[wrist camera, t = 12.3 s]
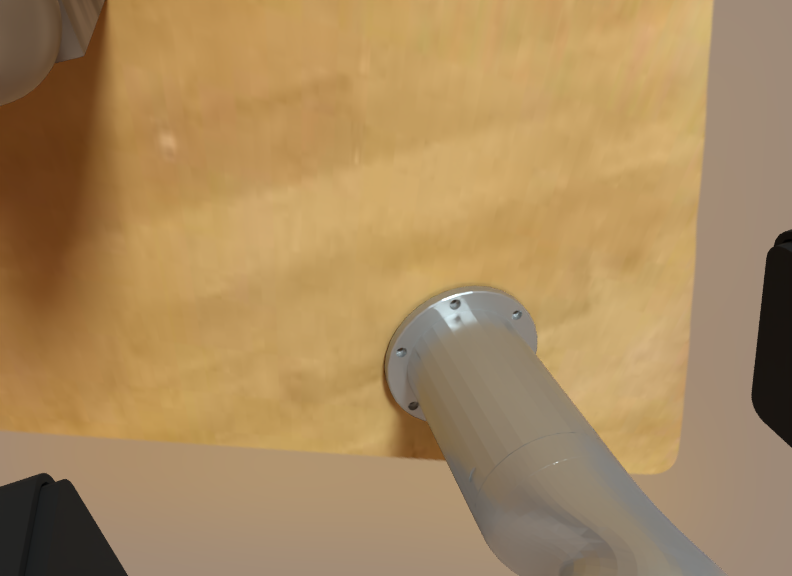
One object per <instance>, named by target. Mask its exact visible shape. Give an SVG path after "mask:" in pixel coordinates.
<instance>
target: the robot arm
mask: <svg viewBox="0 0 792 576" xmlns="http://www.w3.org/2000/svg"><path fill="white" fill-rule="evenodd" d="M536 351H537V332H536V327H535V324H534V322H533V320H532V318H531V316H530V314H529V313H528V311H527V310H526V309H525V308H524V306H523V305H522V304H521V303H520V302H519V301H518V300H516V299H515V298H514V297H513V296H511V295H509V294H508V293H506V292H504V291H502V290H499V289H495V288H492V287H485V286H468V287H460V288H456V289H452V290H449V291H445V292H443V293H441V294H439V295H437V296H434V297H432V298H430V299H429V300H427V301H426V302H424V303H423V304H421V305H420V306H418V307H417V308H416V309H415V310H414V311H413V312H412V313H410V314H409V315H408V316H407V317H406V318H405V320H404V321H403V322H402V323H401V325H400V326H399V327H398V328H397V330H396V332H395V334H394V336H393V337H392V339H391V341H390V344H389V347H388V350H387V353H386V359H385V375H386V381H387V383H388V386H389V388H390V391H391V393H392V395H393V397H394V399H395V401H396V402H397V403H398V404H399V405H400V406H401V407H402V409H403V410H405V411H406V412H408V413H409V414H410V415H412V416H413V417H416V418H418V419H421V420H423V421H427V422H428V424H429V426H430V428H431V431H432V433H433V435H434V437H435V439H436V441H437V443H438V445H439V447H440V449H441V451H442V453H443V455H444V457H445V459H446V461H447V463H448V465H449V467H450V470H451V471H452V474H453V476H454V478H455V480H456V482H457V484H458V486H459V488H460V490H461V492H462V494H463V496H464V498H465V500H466V502H467V504H468V507H469V509H470V511H471V513H472V515H473V517H474V519H475V521H476V523H477V525H478V527H479V529H480V531H481V533H482V535H483V537H484V539H485V541H486V543H487V544H488V546H489V548H490V549H491V550H492V552H493V553H494V554H495V555H496V557H497V558H498V559H499V560H500V561H501V562H502V563H503V564H505V565H506V566H507V567H508V568H509V569H510V570H511V571H513V572H514V573H516V574H518V575H519V576H728V575H727V574H726V573H725V572H724V571H723V570H722V569H721V568H720V567H719V566H718V565H717V564H716V563H714V562H713V561H712V560H711V559H710V558H709V557H708V556H707V555H705V554H704V552H702V551H701V550H700V549H699V548H698V547H697V546H696V545H695V544H694V543H692V542H691V541H690V540H689V539H688V538H687V537H686V536H685V535H684V534H683V533H682V532H681V531H680V530H679V529H678V528H677V527H676V526H675V525H673V523H671V521H670V520H669V519H668V518H667V517H666V516H665V515H664V514H663V513H662V512H661V511H660V510H659V509H658V508H657V507H656V506H655V505H654V504H653V503H652V501H651V500H650V499H649V498H648V497H647V496H646V494H645V493H644V492H643V491H642V490H641V489H640V487H639V486H638V485H637V484H636V482H634V480H633V479H632V478H631V476H630V475H629V474H628V473H627V471H626V470H625V469H624V468H623V466H622V465H621V464H620V462H619V461H618V460H617V459H616V457H615V456H614V455H613V454H612V452H611V451H610V450H609V448H608V447H607V446H606V444H605V443H604V442H603V441H602V439H601V438H600V437H599V435H598V434H597V433H596V432H595V430H594V429H593V428H592V426H591V425H590V424H589V423H588V421H587V420H586V419H585V417H584V416H583V415H582V413H581V412H580V411H579V410H578V408H577V407H576V406H575V404H574V403H573V402H572V401H571V399H570V398H569V397H568V395H567V394H566V393H565V392H564V390H563V389H562V388H561V386H560V385H559V384H558V382H557V381H556V380H555V379H554V377H553V376H552V375H551V373H550V372H549V371H548V370H547V368H546V367H545V366H544V364H543V363H542V362H541V361H540V359H539V358H538V357H537V355H536ZM752 402H753V406H754V408H755V411H756V413H757V414H758V416H759V417H760V418H761V419H762V421H763V422H764V423H765V424H767V425H768V426H769V427H770V428H771V429H772V430H773V431H774V432H775V433H776V434H777V435H779V436H780V437H781V438H782V439H783V440H784V441H785V442H786V443H787V444H788V445H790V447H792V230H788V231H785V232H783V233H782V234H780V235H779V236H778V237H777V239H776V240H775V244H774V247H772V248H771V249H770V250H769V252H768V254H767V258H766V267H765V275H764V285H763V294H762V303H761V312H760V321H759V331H758V339H757V348H756V358H755V367H754V376H753V385H752ZM0 576H128V575H127V573H126V572H125V570H124V568H123V567H122V565H121V563H120V562H119V560H118V558H117V557H116V555H115V554H114V552H113V550H112V549H111V547H110V545H109V544H108V542H107V540H106V539H105V537H104V535H103V534H102V532H101V530H100V529H99V527H98V525H97V524H96V522H95V521H94V519H93V517H92V516H91V514H90V512H89V511H88V509H87V507H86V506H85V504H84V503H83V501H82V499H81V498H80V496H79V494H78V492H77V491H76V490H75V488H74V486H73V485H72V483H71V482H70V481H69V480H67V479H63V480H60V481H57V482H55V481H54V480H53V478H52V477H51V476H50V475H48V474H46V473H41V474H38V475H35V476H32V477H29V478H26V479H23V480H20V481H16V482H14V483H10V484H7V485H4V486H1V487H0Z"/></svg>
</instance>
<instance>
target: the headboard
mask: <svg viewBox="0 0 792 576" xmlns="http://www.w3.org/2000/svg"><path fill="white" fill-rule="evenodd" d="M104 1H105V0H0V106H1V105H4V104H7V103H11V102H13V101H15V100H18V99H20V98H22V97H24V96H25V95H27V94H28V93H30V92H31V91H32V90H34V89H35V88H36V87H37V86H38V85H39V84H40V83H41V82H42V81H43V80H44V78H45V77H46V76H47V75H48V73H49V72H50V70H51V69H52V67H53V65H54V63H58V62H62V61H66V60H70V59H74V58H78V57H82V56H84V55H85V53H86V50H87V47H88V45H89V42H90V39H91V36H92V34H93V31H94V28H95V26H96V23H97V20H98V17H99V15H100V12H101V9H102V7H103V4H104Z"/></svg>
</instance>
